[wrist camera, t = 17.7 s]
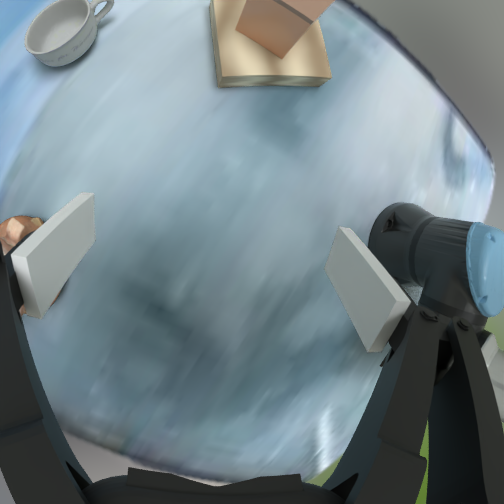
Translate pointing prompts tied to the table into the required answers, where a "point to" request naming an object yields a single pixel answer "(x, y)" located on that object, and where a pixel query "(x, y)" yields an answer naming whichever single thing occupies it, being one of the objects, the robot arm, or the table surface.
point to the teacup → (64, 30)
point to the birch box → (263, 54)
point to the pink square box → (279, 22)
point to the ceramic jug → (18, 235)
